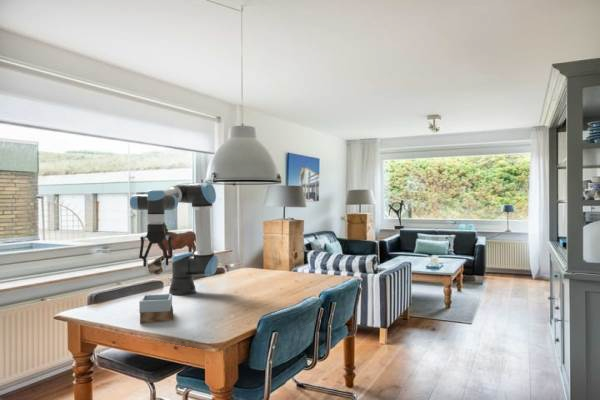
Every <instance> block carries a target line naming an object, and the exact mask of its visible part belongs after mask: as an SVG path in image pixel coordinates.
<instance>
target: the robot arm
mask: <svg viewBox="0 0 600 400" xmlns="http://www.w3.org/2000/svg"><path fill="white" fill-rule="evenodd" d="M216 198H217V193H216V190H215V187H214V186H213V184H211V183H209V182H187V183H180V184H177V185H176V184H175V185H172V186H170V187H168V188H167V189H162V190H161V189H149V190H148V191H147V193H144V194H133V195H132V196H131V197H130V199H129V205H130V208H131V209H132V210H134V211H147V214H146V215H147V216H146V219H147V223H148V224H147V225H146V226H147V227H146V228H147V233H146V235H144V236H140V248H139V255H138V256H139V257H138V258H139V259H141V260H143V263H142V264H143V267H144V268H145V275H148V274H149V269H148V264H149V263H148V262H149V259H148V255H149V252H150V250H151V248H152V245H154V244H158V245H159V244H160V247H161V250H162V252H163V255H164V260H163V274H166V273H167V266H168V265H169V260H170V259H171V258H172V260H171V261H172V262H171V269H172V270H171V271H172V272H171V277H172V278H171V283H170V286H169V289H168V291H169V292H168V294H172V296H173V295H174V296H185V295H191V294H195V293H196V292H197V290H196V285H195V282H194V279H193V278H194V276H205V277H206V276H207V277H208V276H209V277H210V276H213V275H214V274H216V271H217V269H218V266H219V258H218V256H217V255H215V252H214V250H213V249H212V234H211V233H212V232H211V208H212V207H213V204H214V203H215V202H216ZM179 203H183V204H191V208H193V209H194V225H195V228H194V229H195V230H194V231H195V246H196V247H195V251H194V252H191V251H190V252H183V253H177V254H174V255H173V250H172V249H173V248H172V241H171V240H172V236H171V235H167V234H166V233H165V231H166V230H165V218H166V216H165V214H166V213H165V211H173V210H175V209H177V207H178V205H179ZM165 238H166V241H167V246H168V253H167V250H166V247H165V245H164V242H163V241H164V240H165ZM146 240H148V241H149V243H148V245H147V247H146V251H145V253H144V254H143V251H144V245H145V241H146Z"/></svg>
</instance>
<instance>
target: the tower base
mask: <svg viewBox="0 0 600 400" xmlns="http://www.w3.org/2000/svg"><path fill="white" fill-rule="evenodd" d="M173 321H174V307H173V305H172V306H171V310H170V311H162V312H144V313H139V324H142V325H143V324H151V323H154V324H155V323H164V322H173Z"/></svg>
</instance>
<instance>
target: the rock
mask: <svg viewBox="0 0 600 400" xmlns="http://www.w3.org/2000/svg"><path fill="white" fill-rule="evenodd" d="M164 258H165V256H163V255H161V256H160V257H158V258H155V260H153V261H152V262H149V263H148V274H149V275H153V274H154V275H158V276H159V275H161V273H164V267H162V263H163V262H164Z"/></svg>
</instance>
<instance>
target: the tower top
mask: <svg viewBox="0 0 600 400" xmlns="http://www.w3.org/2000/svg"><path fill="white" fill-rule="evenodd" d="M171 306H172V307H173V295H172V294H169V293H160V294H159V293H158V294H144V295H142V296H141V298H140V300H139V308H138V309H139V310H138V311H139V314H140V313H144V312H162V311H170V310H171Z"/></svg>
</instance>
